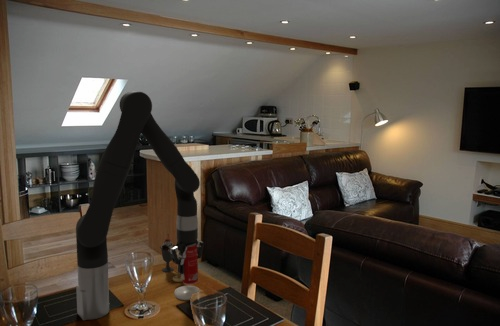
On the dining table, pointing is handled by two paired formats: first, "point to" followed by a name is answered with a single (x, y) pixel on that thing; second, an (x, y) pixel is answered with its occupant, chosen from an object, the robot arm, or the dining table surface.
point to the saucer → (185, 292)
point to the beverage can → (190, 265)
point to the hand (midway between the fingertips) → (187, 271)
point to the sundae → (167, 254)
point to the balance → (178, 277)
